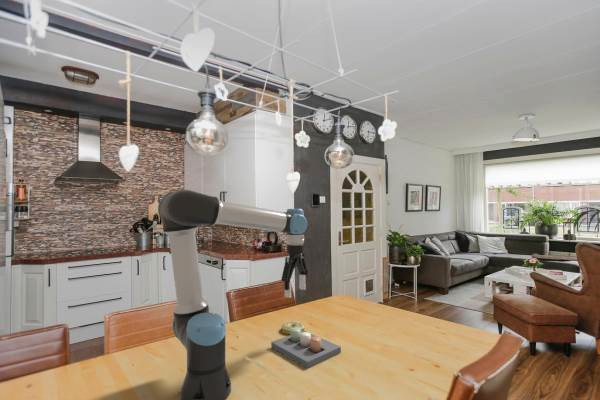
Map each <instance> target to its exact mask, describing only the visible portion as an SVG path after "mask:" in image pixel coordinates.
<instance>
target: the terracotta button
mask: <svg viewBox="0 0 600 400" xmlns="http://www.w3.org/2000/svg"><path fill="white" fill-rule="evenodd" d="M321 338H322V337H320V336H318V337H312V338H310V350H311V351H313V352H320V351H321V350H322V347H321Z"/></svg>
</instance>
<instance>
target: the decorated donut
mask: <svg viewBox="0 0 600 400" xmlns="http://www.w3.org/2000/svg"><path fill="white" fill-rule="evenodd" d="M292 328H299V329H301V331H303V330H304V331H305V328H306V327H305V326H304V324H302V323H301V322H298V321H288V322H286V323H283V324H282V325H281V331H282V332H281V333H283V334H286V335H288V336H289V335H291V329H292Z"/></svg>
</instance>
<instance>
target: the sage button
mask: <svg viewBox="0 0 600 400" xmlns="http://www.w3.org/2000/svg"><path fill="white" fill-rule="evenodd" d="M300 333H301V329H299V328H292V329H291V341H293V342H299V341H300Z"/></svg>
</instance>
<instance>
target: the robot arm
mask: <svg viewBox="0 0 600 400" xmlns="http://www.w3.org/2000/svg"><path fill="white" fill-rule="evenodd" d="M157 212H158V216H159V217H160V220H161V225H162V230H163V233H164V234H165V235H166V236H168V239H169V240H168V241H169V247H170V249H169V250H170V255H171V262H172V263H171V265H172V272H173V280H174V287H175V295H176V303H177V304H176V305H175V306H174V308H173V321H172V331H173V333H174V336H175V337H176V338H177V340H178V341H179V342H180V343H181V344H182V345H183V347H184V348H185V350H186V373H185V376H184V379H183V383H182V386H181V388H180V399H181V400H226V399H227V398H228V397H229V396H230V394H231V391H232V382H231V379H230V378H231V377H230V375H229V372H228V370H227V366H226V339H227V338H226V333H227V328H226V321H225V319H224V317H223V316H221V315H220V314H218V313H213V312H210V308H209V302H208V301H207V299H205V298H204V296H203V294H204V293H203V287H202V279H201V271H200V263H199V262H200V261H199V256H198V255H199V254H198V248H197V236H196V232H197V230H198V229H199V227H200V226H206V227H207V226H208V227H214V226H215V225H216V224H217V225H225V226H232V227H238V228H239V227H240V228H247V229H255V230H262V231H264V232H265V233H272V232H273V233H274V232H275V233H283V234H286V253H287V255H288V254H289V256H285V259H284V261H285V262H284V266H283V271H282V275H281V278H280V279H281V281H282V282H284V298H290V299H291V298H292V281H291V279H292V277H293V273H294V270H295V269H296V267H297V270H298V272H299V273H300V274H299V276H298V277H299V278H298V279H299V280H298V281H299V285H298V287H299V288H298V289H299V290H302V291H304V290H305V291H306V276H307V275H308V272H309V271H308V270H309V269H308V265H307V260H306V255H305V253H304V252H305V245H304V243H305V232H306V230H307V228H308V220H307V218H306V217H305V213H304V210H303V209H302V208H287V209H286V212H285V211H278V210H273V209H267V208H263V207H262V208H261V207H256V206H251V205H244V204H239V203H233V202H230V201H229V202H228V201H222V200H220V198H219V197H218V196H212V195H208V194H204V193H200V192H197V191H193V190H190V189H189V190H188V189H181V190H174V191H173V190H172V191H170V192H168V193H167V194H166V193H165V195H163V197H162V198H161V199H160V200H159V202H158V205H157Z"/></svg>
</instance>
